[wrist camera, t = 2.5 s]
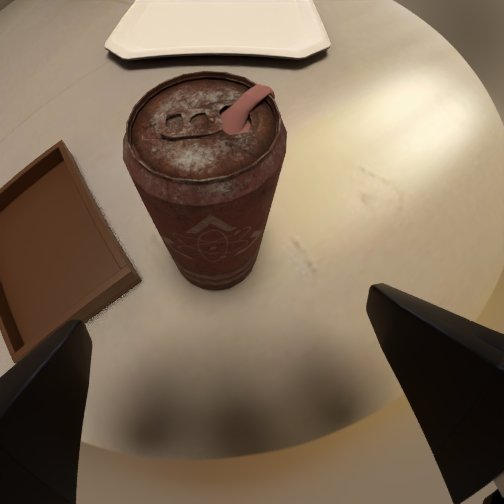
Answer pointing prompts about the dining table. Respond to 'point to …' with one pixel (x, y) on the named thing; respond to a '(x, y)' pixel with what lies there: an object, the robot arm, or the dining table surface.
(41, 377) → the robot arm
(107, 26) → the dining table surface
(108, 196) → the dining table surface
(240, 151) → the can
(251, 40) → the plate
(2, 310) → the tray
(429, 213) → the dining table surface
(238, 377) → the dining table surface
